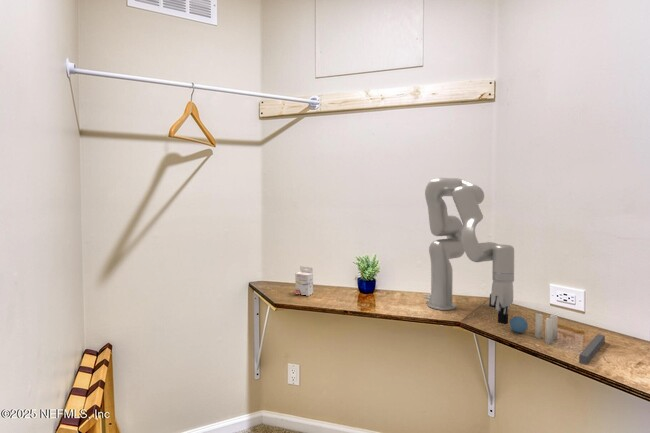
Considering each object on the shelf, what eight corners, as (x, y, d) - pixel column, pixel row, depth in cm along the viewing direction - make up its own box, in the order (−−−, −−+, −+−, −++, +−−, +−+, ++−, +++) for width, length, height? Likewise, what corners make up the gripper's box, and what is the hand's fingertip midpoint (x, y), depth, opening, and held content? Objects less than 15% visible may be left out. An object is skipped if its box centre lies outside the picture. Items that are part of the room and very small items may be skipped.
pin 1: (544, 342, 123) (544, 318, 122) (546, 340, 124) (546, 317, 124) (551, 344, 121) (551, 320, 121) (553, 342, 123) (554, 319, 122)
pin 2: (548, 338, 126) (549, 315, 126) (550, 337, 127) (551, 314, 127) (555, 340, 124) (556, 317, 124) (557, 338, 126) (558, 315, 125)
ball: (517, 316, 129) (527, 331, 127) (523, 312, 133) (533, 327, 131) (503, 321, 133) (513, 336, 131) (510, 317, 137) (519, 332, 135)
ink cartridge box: (295, 294, 186) (294, 267, 186) (300, 292, 191) (300, 265, 190) (308, 297, 182) (307, 269, 181) (313, 294, 186) (313, 267, 185)
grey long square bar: (579, 362, 108) (579, 354, 108) (597, 340, 124) (597, 333, 124) (587, 364, 107) (587, 356, 106) (604, 342, 122) (604, 335, 122)
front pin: (534, 337, 127) (534, 314, 127) (536, 335, 129) (536, 313, 128) (540, 339, 126) (541, 316, 125) (542, 337, 127) (543, 314, 127)
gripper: (501, 272, 143) (501, 316, 144) (484, 278, 134) (484, 325, 134) (521, 275, 138) (520, 321, 138) (505, 281, 128) (504, 330, 129)
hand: (502, 323), depth 136 cm, fingers closed
